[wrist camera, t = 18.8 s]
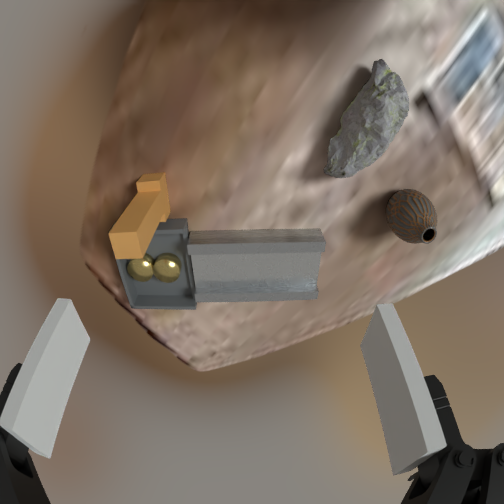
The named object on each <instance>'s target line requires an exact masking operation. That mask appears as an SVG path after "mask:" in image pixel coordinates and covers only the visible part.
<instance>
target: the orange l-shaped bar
mask: <svg viewBox="0 0 504 504" xmlns="http://www.w3.org/2000/svg"><path fill="white" fill-rule="evenodd" d="M136 184H137V190H138V193H137V194H136V196H135V197H134V198H133V200H132V201H131V202H130V204H129V205H128V206H127V208H126V209H125V211H124V212H123V213H122V215H121V216H120V218H119V219H118V220H117V222H116V223H115V225H114V226H113V228H112V229H111V230H110V232H109V237H110V241H111V244H112V248H113V251H114V254H115V258H116V259H141V258H143V257H144V255H145V253H146V250H147V248H148V246H149V244H150V242H151V239H152V237H153V235H154V233H155V231H156V229H157V227H158V225H159V222H166V220H167V218H168V216H169V214H170V212H171V211H170V204H169V198H168V191H167V184H166V176H165V172H163V173H152V174H143V175H142V176H141V177H140V179H139V180H138V181H137V182H136Z"/></svg>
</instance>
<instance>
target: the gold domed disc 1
mask: <svg viewBox="0 0 504 504" xmlns="http://www.w3.org/2000/svg"><path fill="white" fill-rule="evenodd" d="M154 264H155V260H154V258H153V257H152V256H151V255H149V254H147V253H145V255H144V257H143V258H141V259H131V260H130V262H129V264H128V267H127V270H128V273H129V275H130V276H131V277H132V278H133V279H135V280H137V281H140V282H146V281H149V280H150V279H151V278H152V276H153V266H154Z"/></svg>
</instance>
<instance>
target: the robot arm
mask: <svg viewBox="0 0 504 504" xmlns="http://www.w3.org/2000/svg"><path fill="white" fill-rule="evenodd" d="M89 342H90V338H89V336H88V334H87V332H86V330H85V328H84V326H83V324H82V322H81V320H80V318H79V316H78V314H77V312H76V310H75V307H74V305H73V303H72V301H71V299H62V298H58V299H57V301H56V302H55V304H54V306H53V307H52V309H51V311H50V313H49V314H48V316H47V318H46V320H45V322H44V323H43V325H42V327H41V329H40V331H39V333H38V335H37V337H36V339H35V340H34V342H33V344H32V347H31V349H30V350H29V352H28V354H27V357H26V359H25V361H24V363H23V364H20V363H18V364H17V365H16V366H15V367H14V368H13V369H12V370H11V372H10V374H9V376H8V378H7V380H6V384H5V385H4V387H3V391H2V392H1V395H0V504H51V503H50V501H49V499H48V497H47V495H46V493H45V490H44V488H43V486H42V484H41V481H40V479H39V477H38V474H37V471H36V469H35V466H34V464H33V461H32V458H31V456H30V454H29V453H28V449H29V448H30V449H31V450H32V451H34V452H35V453H37V454H39V455H42V456H44V457H47V458H50V457H51V453H52V450H53V446H54V443H55V439H56V436H57V432H58V429H59V426H60V422H61V419H62V416H63V413H64V409H65V407H66V404H67V401H68V398H69V395H70V392H71V389H72V386H73V384H74V381H75V378H76V375H77V373H78V370H79V367H80V365H81V362H82V359H83V357H84V354H85V352H86V349H87V347H88V344H89ZM360 346H361V350H362V353H363V356H364V360H365V363H366V367H367V370H368V374H369V377H370V381H371V385H372V388H373V392H374V396H375V399H376V403H377V407H378V411H379V414H380V419H381V423H382V427H383V431H384V436H385V440H386V444H387V449H388V453H389V457H390V462H391V467H392V472H393V475H397V474H401V473H405V472H408V471H411V470H413V469H414V468H416V467H417V466H418V472H416V473H415V474H413V475H412V476H410V478H409V479H408V481H411V480H412V479H414V480H413V482H412V484H411V486H410V488H409V490H408V491H407V493H406V495H405V497H404V499H403V500H402V502H401V504H504V443H500V444H499V445H498V446H496V447H495V448H494V449H473V448H472V447H470V446H469V445H467V444H465V443H464V442H463V440H462V438H461V435H460V432H459V429H458V426H457V423H456V420H455V417H454V414H453V412H452V409H451V407H450V403H449V401H448V398H446V396H447V395H446V393H445V390H444V388H443V385H442V383H441V382H440V381H439V380H438V379H437V378H436V376H435V375H430V376H426V377H423V374H422V371H421V369H420V366H419V364H418V361H417V359H416V356H415V354H414V351H413V349H412V347H411V344H410V342H409V339H408V337H407V335H406V332H405V330H404V328H403V325H402V323H401V321H400V319H399V317H398V314H397V312H396V310H395V308H394V306H393V304H377V305H376V308H375V311H374V313H373V316H372V318H371V321H370V323H369V326H368V328H367V331H366V333H365V336H364V338H363V341H362V343H361V345H360Z"/></svg>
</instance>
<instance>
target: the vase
mask: <svg viewBox="0 0 504 504" xmlns="http://www.w3.org/2000/svg"><path fill="white" fill-rule="evenodd" d="M386 217H387V221H388V224H389V226H390V228H391V229H392V231H393V232H394V233H395V235H396V236H398V237H399V238H400V239H402V240H404V241H406V242H409V243H430V242H432V241H433V240H434V239H435V237H436V234H437V231H436V225H437V215H436V211H435V208H434V206H433V204H432V203H431V201H430V200H429V199H428V198H427V197H426V196H425V195H424V194H422V193H421V192H419V191H416V190H412V189H404V190H400V191H398V192H397V193H395V194H394V195H393V196H392V197H391V198H390V200H389V202H388V204H387V208H386Z"/></svg>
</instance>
